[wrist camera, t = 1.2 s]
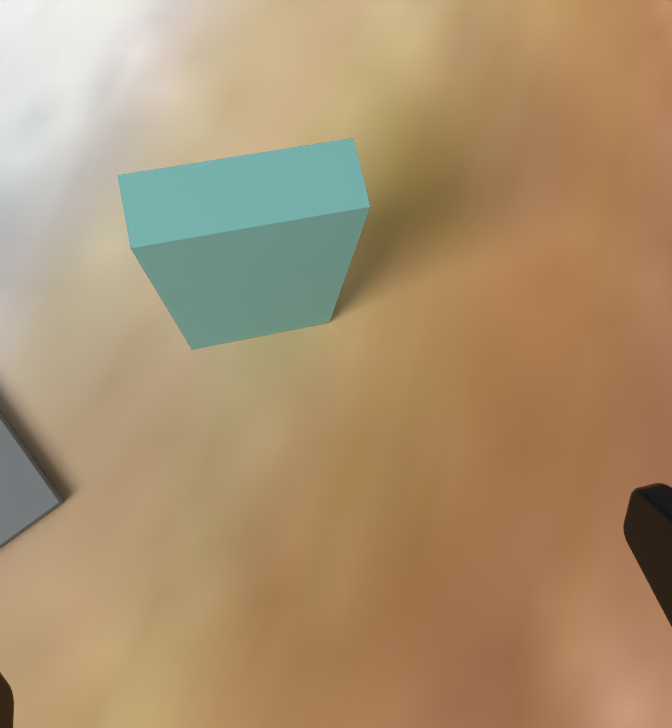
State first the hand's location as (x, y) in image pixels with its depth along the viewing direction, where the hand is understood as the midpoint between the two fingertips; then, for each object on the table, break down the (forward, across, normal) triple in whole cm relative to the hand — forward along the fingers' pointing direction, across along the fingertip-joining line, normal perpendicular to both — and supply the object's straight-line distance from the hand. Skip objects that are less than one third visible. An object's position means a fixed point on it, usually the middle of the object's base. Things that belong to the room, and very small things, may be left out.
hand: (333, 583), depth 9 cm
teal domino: (+15, 0, +4) cm, 15 cm away
